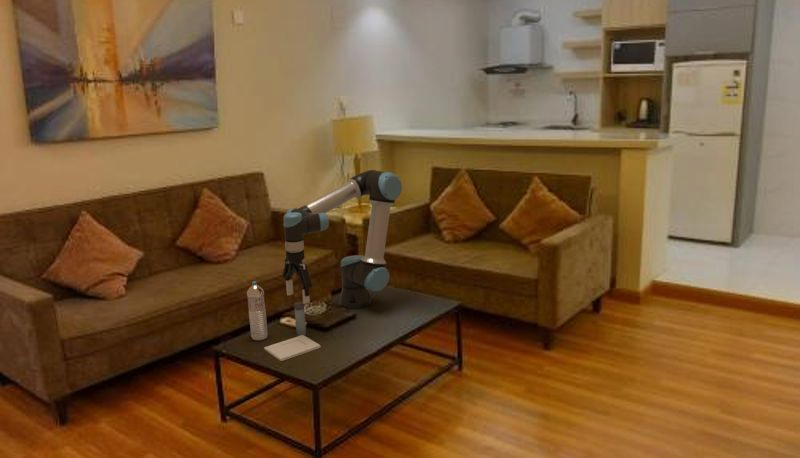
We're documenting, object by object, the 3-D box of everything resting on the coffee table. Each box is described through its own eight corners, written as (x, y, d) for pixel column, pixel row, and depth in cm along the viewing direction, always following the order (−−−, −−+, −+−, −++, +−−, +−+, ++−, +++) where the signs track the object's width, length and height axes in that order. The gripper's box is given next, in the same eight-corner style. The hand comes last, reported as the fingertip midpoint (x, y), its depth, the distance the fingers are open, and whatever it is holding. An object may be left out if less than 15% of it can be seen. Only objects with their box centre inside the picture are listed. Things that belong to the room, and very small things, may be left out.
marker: (303, 331, 270) (300, 300, 266) (308, 334, 267) (305, 303, 263) (294, 334, 267) (292, 303, 264) (299, 337, 264) (297, 306, 261)
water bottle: (251, 342, 261) (246, 285, 254) (251, 335, 267) (245, 280, 261) (268, 339, 262) (263, 283, 256) (267, 333, 269) (262, 278, 263)
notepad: (302, 337, 264) (302, 334, 264) (320, 347, 254) (320, 345, 253) (264, 349, 253) (264, 347, 253) (281, 361, 243) (280, 358, 242)
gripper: (272, 246, 265) (275, 293, 270) (302, 258, 246) (305, 309, 251) (287, 242, 269) (291, 289, 275) (318, 254, 250) (321, 304, 256)
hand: (298, 298), depth 263 cm, fingers open, 13 cm apart
